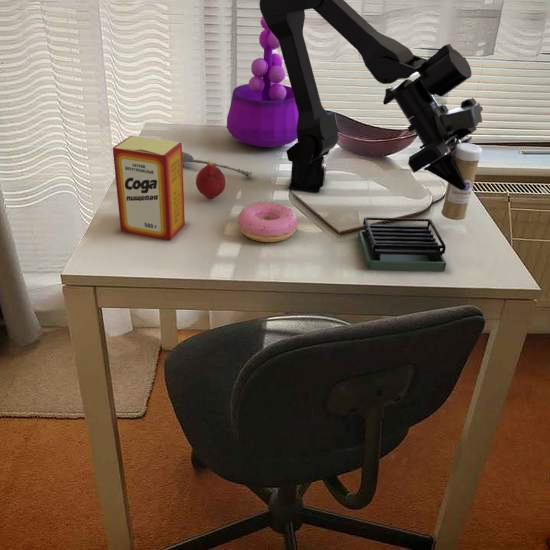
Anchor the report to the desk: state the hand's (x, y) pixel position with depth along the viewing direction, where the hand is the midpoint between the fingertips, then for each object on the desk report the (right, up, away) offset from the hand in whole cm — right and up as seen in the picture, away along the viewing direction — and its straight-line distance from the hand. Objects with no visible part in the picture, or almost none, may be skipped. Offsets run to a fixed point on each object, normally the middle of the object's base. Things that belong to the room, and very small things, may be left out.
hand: (468, 184), depth 109 cm
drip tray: (-13, -13, -3) cm, 18 cm away
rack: (-13, -13, -3) cm, 18 cm away
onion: (-48, -1, +12) cm, 49 cm away
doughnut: (-36, -8, +2) cm, 37 cm away
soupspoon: (-50, +7, +25) cm, 57 cm away
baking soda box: (-57, -8, +1) cm, 57 cm away
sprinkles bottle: (-1, -5, +4) cm, 7 cm away
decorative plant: (-37, +17, +42) cm, 58 cm away
